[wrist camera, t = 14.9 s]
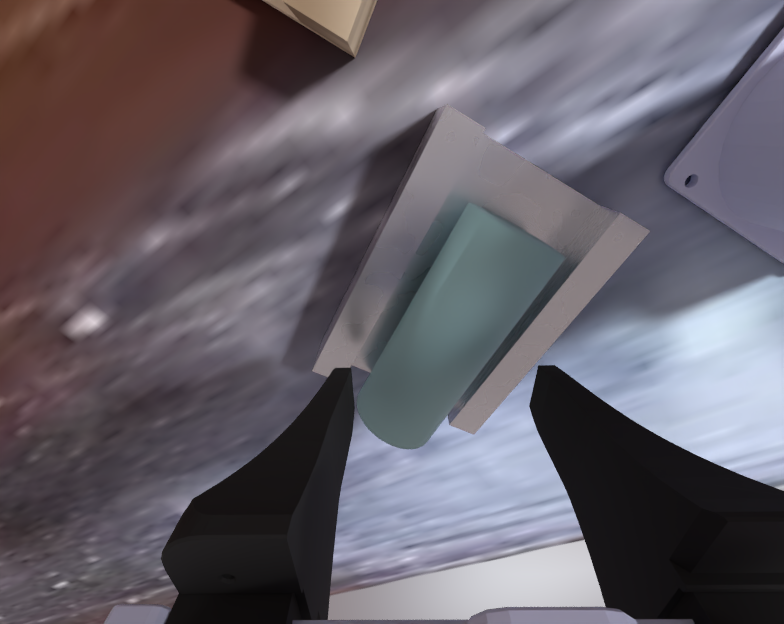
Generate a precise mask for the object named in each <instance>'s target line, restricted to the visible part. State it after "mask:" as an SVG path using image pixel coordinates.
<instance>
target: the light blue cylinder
mask: <svg viewBox="0 0 784 624" xmlns="http://www.w3.org/2000/svg"><path fill="white" fill-rule="evenodd" d="M565 259H566V258H565V257H564V256H563V255H562V254H561V253H559V252H558V251H557V250H555V249H554V248H552V247H551V246H549V245H548V244H546V243H544V242H543V241H541V240H540V239H538V238H536V237H535V236H533V235H531V234H530V233H528V232H526V231H525V230H523V229H521V228H519V227H518V226H516V225H514V224H512V223H510V222H509V221H507V220H505V219H503V218H501V217H499V216H498V215H496V214H494V213H492V212H490V211H488V210H486V209H484V208H482V207H480V206H477V205H475V204H472V203H468V204H467V206H466V207H465V209H464V211H463V213H462V214H461V216H460V218H459V220H458V221H457V223H456V225H455V227H454V228H453V230H452V232H451V234H450V235H449V237H448V239H447V241H446V242H445V244H444V246H443V247H442V249H441V251H440V253H439V254H438V256H437V258H436V260H435V261H434V263H433V265H432V267H431V268H430V270H429V272H428V274H427V275H426V277H425V279H424V281H423V282H422V284H421V286H420V288H419V289H418V291H417V293H416V294H415V296H414V298H413V300H412V301H411V303H410V305H409V307H408V308H407V310H406V312H405V314H404V315H403V317H402V319H401V321H400V322H399V324H398V326H397V328H396V329H395V331H394V333H393V335H392V336H391V338H390V340H389V341H388V343H387V345H386V347H385V348H384V350H383V352H382V354H381V355H380V357H379V359H378V361H377V362H376V364H375V366H374V368H373V369H372V371H371V373H370V375H369V376H368V378H367V380H366V382H365V383H364V385H363V387H362V388H361V390H360V392H359V394H358V396H357V409H358V412H359V415H360V417H361V419H362V421H363V422H364V424H365V425H366V426H367V428H368V429H369V430H370V431H371V432H372V433H373V434H374V435H375V436H377V437H378V438H379V439H381V440H382V441H384V442H386V443H388V444H390V445H392V446H395V447H398V448H402V449H416V448H419V447H421V446H423V445H424V444H425V443H426V442H427V441H428V440H429V439H430V437H431V436H432V435H433V433H434V432H435V431H436V429H437V428H438V427H439V425H440V424H441V423H442V421H443V420H444V419H445V417H446V416H447V415H448V413H449V412H450V411H451V409H452V408H453V407H454V405H455V404H456V403H457V402H458V400H459V399H460V398H461V396H462V395H463V394H464V392H465V391H466V390H467V388H468V387H469V386H470V384H471V383H472V382H473V380H474V379H475V378H476V376H477V375H478V374H479V372H480V371H481V370H482V368H483V367H484V366H485V364H486V363H487V362H488V360H489V359H490V358H491V356H492V355H493V354H494V353H495V351H496V350H497V349H498V347H499V346H500V345H501V343H502V342H503V341H504V339H505V338H506V337H507V335H508V334H509V333H510V331H511V330H512V329H513V327H514V326H515V325H516V323H517V322H518V321H519V319H520V318H521V317H522V315H523V314H524V313H525V311H526V310H527V309H528V308H529V306H530V305H531V304H532V302H533V301H534V300H535V298H536V297H537V296H538V294H539V293H540V292H541V290H542V289H543V288H544V286H545V285H546V284H547V282H548V281H549V280H550V278H551V277H552V276H553V274H554V273H555V272H556V270H557V269H558V268H559V266H560V265H561V264H562V263H563V261H564V260H565Z"/></svg>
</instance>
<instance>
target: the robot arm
mask: <svg viewBox="0 0 784 624" xmlns="http://www.w3.org/2000/svg"><path fill="white" fill-rule="evenodd" d="M690 175H691V180H690V182H689V183H688V184H687V185H686V186H685V180H686V179H687V177H689V176H690ZM664 182H665V184H666V185H667V186H669V187H670V188H672V189H673V190H675V191H676V192H678V193H679V194H681V195H682V196H684V197H685V198H687V199H688V200H689V201H691V202H692V203H694V204H695V205H697V206H698V207H700V208H701V209H703V210H704V211H706V212H707V213H709V214H710V215H712V216H713V217H715V218H716V219H718V220H719V221H721V222H722V223H724V224H725V225H727V226H728V227H730V228H731V229H733V230H734V231H736V232H737V233H739V234H740V235H741V236H743V237H744V238H746V239H747V240H749V241H750V242H752V243H753V244H755V245H756V246H758V247H759V248H761V249H762V250H764V251H765V252H767V253H768V254H770V255H771V256H773V257H774V258H776V259H777V260H779V261H780V262H782V263H783V264H784V28H783V29H782V30H781V31H780V32H779V34H778V35H777V36H776V37H775V38H774V40H773V41H772V42H771V43H770V45H769V46H768V47H767V48H766V49H765V51H764V52H763V53H762V54H761V56H760V57H759V58H758V59H757V60H756V62H755V63H754V64H753V65H752V66H751V68H750V69H749V70H748V71H747V73H746V74H745V75H744V76H743V77H742V79H741V80H740V81H739V82H738V84H737V85H736V86H735V87H734V88H733V90H732V91H731V92H730V93H729V95H728V96H727V97H726V98H725V99H724V101H723V102H722V103H721V104H720V105H719V107H718V108H717V109H716V110H715V112H714V113H713V114H712V115H711V116H710V118H709V119H708V120H707V121H706V123H705V124H704V125H703V126H702V127H701V129H700V130H699V131H698V132H697V133H696V135H695V136H694V137H693V138H692V140H691V141H690V142H689V143H688V144H687V146H686V147H685V148H684V149H683V151H682V152H681V153H680V154H679V155H678V157H677V158H676V159H675V160H674V161H673V163H672V164H671V165H670V166H669V168H668V169H667V171H666V172H665V175H664ZM529 407H530V410H531V413H532V416H533V419H534V422H535V425H536V428H537V431H538V433H539V435H540V437H541V439H542V441H543V443H544V445H545V448H546V450H547V452H548V454H549V456H550V458H551V460H552V462H553V464H554V466H555V468H556V470H557V472H558V474H559V476H560V478H561V480H562V482H563V484H564V486H565V489H566V491H567V493H568V495H569V498H570V500H571V503H572V506H573V509H574V511H575V514H576V517H577V519H578V522H579V525H580V528H581V530H582V533H583V536H584V539H585V542H586V545H587V548H588V551H589V553H590V557H591V560H592V563H593V566H594V570H595V573H596V576H597V579H598V582H599V585H600V588H601V592H602V596H603V599H604V603H605V606H606V607H504V608H496V609H488V610H485V611H483V612H480V613H478V614H476V615H473V616H471V618H470V619H469V620H328V608H329V596H330V584H331V573H332V562H333V552H334V542H335V532H336V523H337V514H338V505H339V497H340V491H341V485H342V480H343V475H344V470H345V466H346V461H347V456H348V451H349V446H350V441H351V436H352V431H353V420H354V408H355V407H354V396H353V385H352V373H351V368H334V369H333V370H332V372H331V374H330V375H329V377H328V378H327V380H326V381H325V383H324V384H323V386H322V387H321V388H320V390H319V391H318V392H317V394H316V395H315V396H314V398H313V399H312V400H311V402H310V403H309V404H308V405H307V407H306V408H305V409H304V410H303V411H302V412H301V414H300V415H299V416H298V417H297V418H296V419H295V421H294V422H293V423H292V424H291V425H290V426H289V427H288V428H287V429H286V430H285V431H284V432H283V433H282V434H281V435H280V436H279V437H278V438H277V439H276V440H275V441H274V442H272V443H271V444H270V445H269V446H268V447H267V448H266V449H265V450H263V451H262V452H261V453H260V454H259V455H257V456H256V457H255V458H254V459H252V460H251V461H250V462H249V463H247V464H246V465H244V466H243V467H242V468H240V469H239V470H238V471H236V472H235V473H233V474H232V475H231V476H229V477H228V478H226V479H225V480H223V481H221V482H220V483H218V484H217V485H215V486H213V487H212V488H210V489H209V490H207V491H205V492H204V493H202V494H201V495H199V496H197V497H195V498H194V499H193V500H192V501H191V503H190V504H189V506H188V507H187V509H186V510H185V512H184V513H183V515H182V517H181V518H180V520H179V522H178V523H177V525H176V527H175V529H174V531H173V533H172V535H171V536H170V538H169V540H168V542H167V544H166V546H165V547H164V549H163V551H162V557H161V560H162V563H163V566H164V568H165V570H166V572H167V574H168V575H169V577H170V579H171V580H172V582H173V584H174V585H175V587H176V589H177V590H178V592H179V595H178V597H177V599H176V601H175V603H174V605H173V608H172V609H171V608H169V607H167V606H164V605H159V604H118V605H116V606H114V607H113V608H112V610H111V612H110V613H109V615H108V617H107V619H106V620H105V622H104V624H784V491H782V490H779V489H777V488H774V487H771V486H769V485H766V484H763V483H761V482H758V481H755V480H753V479H750V478H747V477H745V476H742V475H740V474H738V473H735V472H733V471H731V470H728V469H726V468H724V467H721V466H719V465H717V464H714V463H712V462H710V461H708V460H706V459H703V458H701V457H699V456H697V455H695V454H693V453H691V452H689V451H687V450H685V449H683V448H681V447H679V446H677V445H675V444H673V443H671V442H669V441H667V440H665V439H663V438H662V437H660V436H658V435H656V434H655V433H653V432H651V431H649V430H648V429H646V428H644V427H642V426H641V425H639V424H637V423H636V422H634V421H633V420H631V419H629V418H628V417H626V416H625V415H623V414H622V413H620V412H619V411H617V410H616V409H614V408H613V407H611V406H610V405H608V404H607V403H605V402H604V401H603V400H601V399H600V398H598V397H597V396H596V395H594V394H593V393H592V392H590V391H589V390H588V389H586V388H585V387H583V386H582V385H581V384H579V383H578V382H577V381H575V380H574V379H573V378H571V377H570V376H569V375H567V374H566V373H565V372H563V371H562V370H561V369H559V368H558V367H556V366H555V365H545V366H538V370H537V374H536V379H535V383H534V388H533V392H532V397H531V401H530V406H529Z"/></svg>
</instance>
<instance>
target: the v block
mask: <svg viewBox="0 0 784 624" xmlns="http://www.w3.org/2000/svg"><path fill="white" fill-rule="evenodd" d="M485 129H486V128H484V127H483V126H481V125H480V124H478V123H476V122H475V121H473V120H472V119H470V118H468V117H467V116H465V115H464V114H462V113H460V112H459V111H457V110H456V109H454V108H452V107H451V106H449V105H448V104H446V105H444V106H442V107H440V108H438V109H437V110H436V112H435V114H434V117H433V119H432V121H431V123H430V125H429V127H428V129H427V131H426V133H425V135H424V137H423V139H422V141H421V143H420V145H419V147H418V149H417V151H416V153H415V155H414V157H413V159H412V161H411V163H410V165H409V167H408V169H407V171H406V173H405V175H404V177H403V179H402V181H401V183H400V185H399V187H398V189H397V191H396V193H395V195H394V197H393V199H392V201H391V203H390V205H389V207H388V209H387V211H386V213H385V215H384V217H383V219H382V221H381V223H380V225H379V227H378V229H377V231H376V233H375V235H374V237H373V239H372V241H371V243H370V245H369V247H368V249H367V251H366V253H365V255H364V257H363V259H362V261H361V263H360V265H359V267H358V269H357V271H356V273H355V275H354V277H353V279H352V281H351V283H350V285H349V287H348V289H347V291H346V293H345V295H344V297H343V299H342V301H341V303H340V305H339V307H338V309H337V311H336V313H335V315H334V317H333V319H332V321H331V323H330V325H329V327H328V329H327V332H326V334H325V336H324V338H323V340H322V342H321V345H320V348H319V351H318V354H317V357H316V360H315V363H314V366H313V369H312V371H313V372H315V373H318V374H321V375H323V376H326V377H329V375H330V374H331V372H332V370H333V369H334V368H350V367H351V365H353V366H355V367H357V368H360V369H362V370H365V371H367V372H370V373H371V371H372V369H373V368H374V366H375V364H376V362H377V361H378V359H379V357H380V355H381V354H382V352H383V350H384V348H385V347H386V345H387V343H388V341H389V340H390V338H391V336H392V335H393V333H394V331H395V329H396V328H397V326H398V324H399V322H400V321H401V319H402V317H403V315H404V314H405V312H406V310H407V308H408V307H409V305H410V303H411V301H412V300H413V298H414V296H415V294H416V293H417V291H418V289H419V288H420V286H421V284H422V282H423V281H424V279H425V277H426V275H427V274H428V272H429V270H430V268H431V267H432V265H433V263H434V261H435V260H436V258H437V256H438V254H439V253H440V251H441V249H442V247H443V246H444V244H445V242H446V241H447V239H448V237H449V235H450V234H451V232H452V230H453V228H454V227H455V225H456V223H457V221H458V220H459V218H460V216H461V214H462V213H463V211H464V209H465V207H466V206H467V204H468V203H472V204H475V205H477V206H480V207H482V208H484V209H486V210H488V211H490V212H492V213H494V214H496V215H498V216H499V217H501V218H503V219H505V220H507V221H509V222H510V223H512V224H514V225H516V226H518V227H519V228H521V229H523V230H525V231H526V232H528V233H530V234H531V235H533V236H535V237H536V238H538V239H540V240H541V241H543V242H544V243H546V244H548V245H549V246H551V247H552V248H554V249H555V250H557V251H558V252H559V253H561V254H562V255H563V256H564V257H565V258H566V259H565V260H564V261H563V263H562V264H561V265H560V266H559V268H558V269H557V270H556V272H555V273H554V274H553V276H552V277H551V278H550V280H549V281H548V282H547V284H546V285H545V286H544V288H543V289H542V290H541V292H540V293H539V294H538V296H537V297H536V298H535V300H534V301H533V302H532V304H531V305H530V306H529V308H528V309H527V310H526V311H525V313H524V314H523V315H522V317H521V318H520V319H519V321H518V322H517V323H516V325H515V326H514V327H513V329H512V330H511V331H510V333H509V334H508V335H507V337H506V338H505V339H504V341H503V342H502V343H501V345H500V346H499V347H498V349H497V350H496V351H495V353H494V354H493V355H492V356H491V358H490V359H489V360H488V362H487V363H486V364H485V366H484V367H483V368H482V370H481V371H480V372H479V374H478V375H477V376H476V378H475V379H474V380H473V382H472V383H471V384H470V386H469V387H468V388H467V390H466V391H465V392H464V394H463V395H462V396H461V398H460V399H459V400H458V402H457V403H456V404H455V405H454V407H453V408H452V409H451V411H450V412H449V413H448V420H449V425H451V426H453V427H456V428H459V429H461V430H464V431H466V432H469V433H471V434H475V433H476V432H477V431H478V429H479V428H480V427H481V426H482V425H483V424H484V423H485V421H486V420H487V419H488V418H489V417H490V416H491V414H492V413H493V412H494V411H495V410H496V409H497V408H498V406H499V405H500V404H501V403H502V402H503V401H504V399H505V398H506V397H507V396H508V395H509V394H510V393H511V391H512V390H513V389H514V388H515V387H516V386H517V384H518V383H519V382H520V381H521V380H522V379H523V378H524V376H525V375H526V374H527V373H528V372H529V371H530V369H531V368H532V367H533V366H534V365H535V364H536V363H537V361H538V360H539V359H540V358H541V357H542V356H543V354H544V353H545V352H546V351H547V350H548V349H549V348H550V346H551V345H552V344H553V343H554V342H555V341H556V339H557V338H558V337H559V336H560V335H561V334H562V333H563V331H564V330H565V329H566V328H567V327H568V326H569V324H570V323H571V322H572V321H573V320H574V319H575V318H576V316H577V315H578V314H579V313H580V312H581V311H582V310H583V308H584V307H585V306H586V305H587V304H588V303H589V301H590V300H591V299H592V298H593V297H594V296H595V295H596V293H597V292H598V291H599V290H600V289H601V288H602V286H603V285H604V284H605V283H606V282H607V281H608V280H609V278H610V277H611V276H612V275H613V274H614V273H615V271H616V270H617V269H618V268H619V267H620V266H621V265H622V263H623V262H624V261H625V260H626V259H627V258H628V256H629V255H630V254H631V253H632V252H633V251H634V250H635V248H636V247H637V246H638V245H639V244H640V243H641V241H642V240H643V239H644V238H645V237H646V236H647V235H648V233H649V232H650V231H649V230H648V229H646V228H645V227H643V226H641V225H640V224H638V223H637V222H635V221H633V220H632V219H630V218H629V217H627V216H625V215H624V214H622V213H620V212H618V211H615V210H612V209H609V208H606V207H604V206H601V205H598V204H596V203H595V202H593V201H592V200H590V199H588V198H587V197H585V196H584V195H582V194H580V193H579V192H577V191H575V190H574V189H572V188H571V187H569V186H567V185H566V184H564V183H563V182H561V181H559V180H558V179H556V178H554V177H553V176H551V175H550V174H548V173H546V172H545V171H543V170H542V169H540V168H538V167H537V166H535V165H534V164H532V163H530V162H529V161H527V160H525V159H524V158H522V157H521V156H519V155H517V154H516V153H514V152H513V151H511V150H509V149H508V148H506V147H504V146H503V145H501V144H500V143H498V142H496V141H495V140H493V139H492V138H490V137H488V136H487V135H485V134H483V132H484V131H485Z"/></svg>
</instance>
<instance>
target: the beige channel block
mask: <svg viewBox="0 0 784 624" xmlns="http://www.w3.org/2000/svg"><path fill="white" fill-rule="evenodd" d="M262 1H264V2H266V3H267V4H269V5H270V6H272V7H274V8H275V9H277V10H279V11H280V12H282V13H283V14H285V15H287V16H288V17H290V18H292V19H293V20H295V21H296V22H298V23H300V24H301V25H303V26H305V27H306V28H308V29H309V30H311V31H313V32H314V33H316V34H318V35H319V36H321V37H322V38H324V39H326V40H327V41H329V42H330V43H332V44H334V45H335V46H337V47H339V48H340V49H342V50H343V51H345V52H347V53H348V54H350V55H352V56H353V57H356V55H357V52H358V50H359V47H360V44H361V42H362V39H363V36H364V34H365V31H366V29H367V26H368V23H369V21H370V18H371V15H372V13H373V10H374V8H375V5H376V2H377V0H262Z"/></svg>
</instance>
